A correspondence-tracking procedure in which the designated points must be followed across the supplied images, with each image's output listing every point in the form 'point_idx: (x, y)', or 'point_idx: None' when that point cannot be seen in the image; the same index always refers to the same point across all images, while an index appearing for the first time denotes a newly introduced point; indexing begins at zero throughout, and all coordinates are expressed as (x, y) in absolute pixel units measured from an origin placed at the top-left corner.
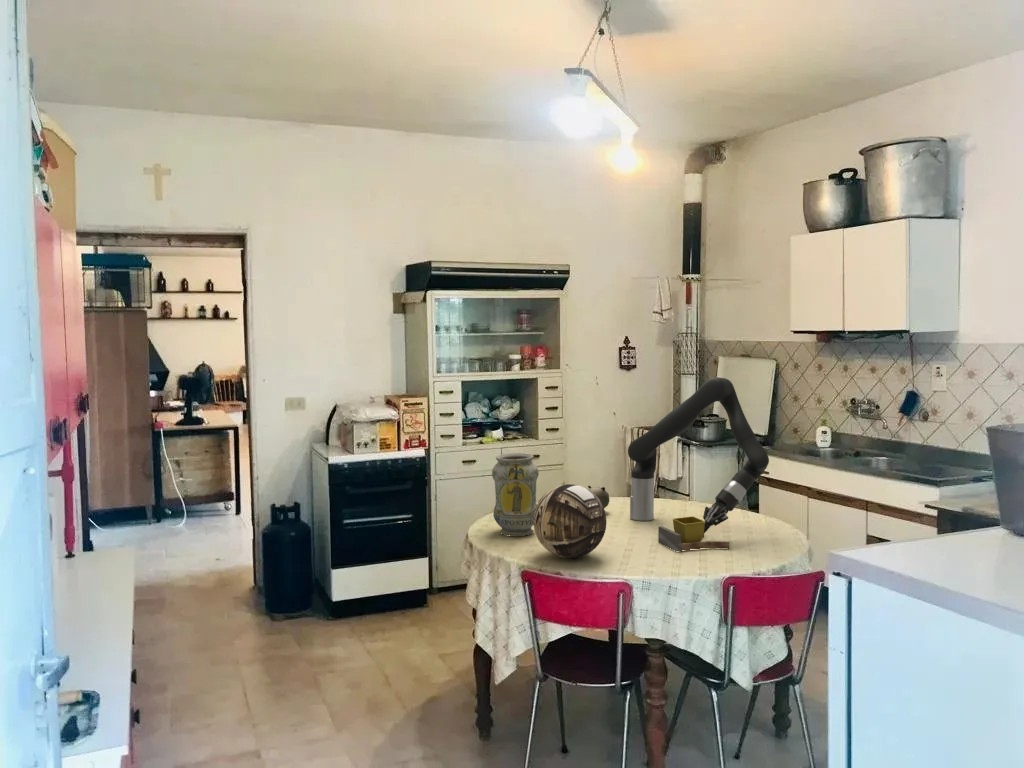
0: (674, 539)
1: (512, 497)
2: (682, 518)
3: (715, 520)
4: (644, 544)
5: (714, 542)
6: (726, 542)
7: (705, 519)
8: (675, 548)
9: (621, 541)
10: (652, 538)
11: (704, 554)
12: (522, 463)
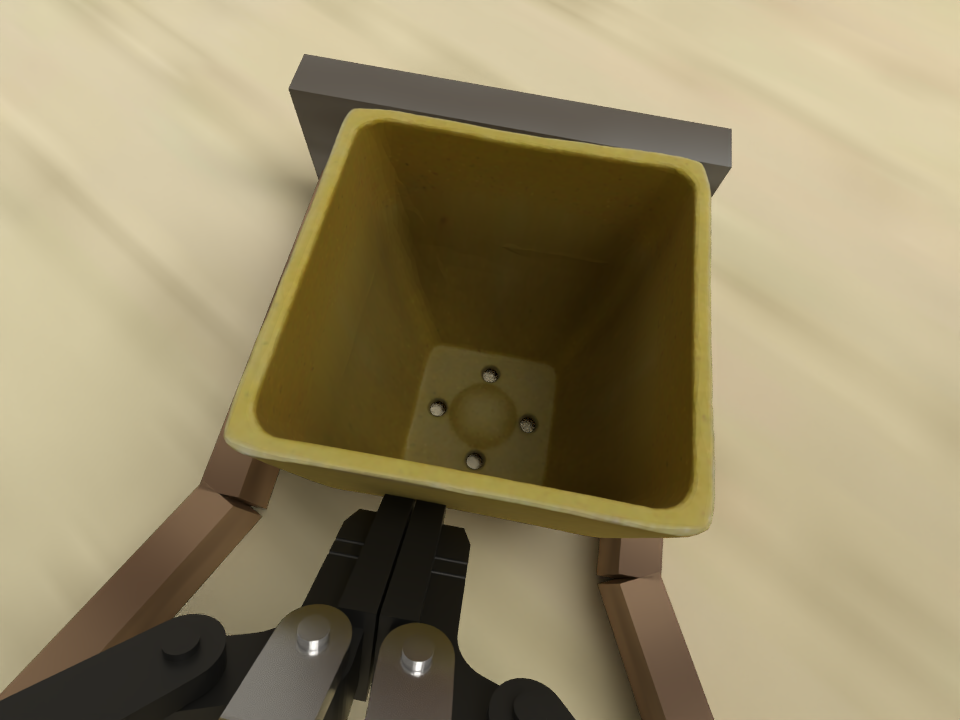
0: None
1: None
2: (686, 305)
3: (75, 687)
4: None
5: (163, 525)
6: (31, 662)
7: (415, 643)
8: None
9: (787, 68)
10: (809, 284)
11: (139, 314)
12: None
